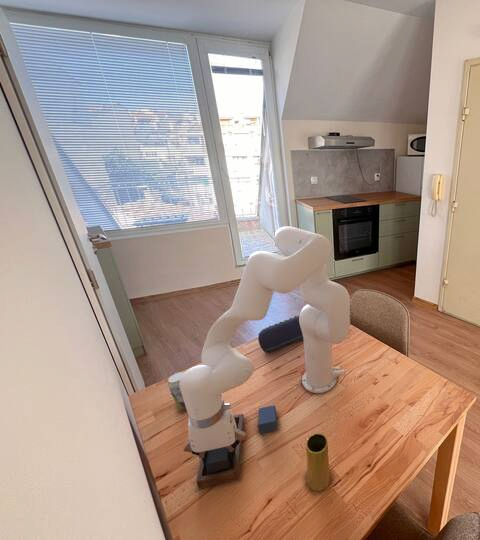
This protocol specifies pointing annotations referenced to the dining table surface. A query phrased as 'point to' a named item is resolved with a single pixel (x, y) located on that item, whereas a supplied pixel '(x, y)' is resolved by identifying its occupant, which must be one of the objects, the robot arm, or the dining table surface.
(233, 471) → the brown divided wooden tray
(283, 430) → the dining table surface
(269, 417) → the blue rectangular block
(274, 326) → the portable speaker
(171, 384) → the beverage can
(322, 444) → the vase
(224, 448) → the dark grey rectangular block
